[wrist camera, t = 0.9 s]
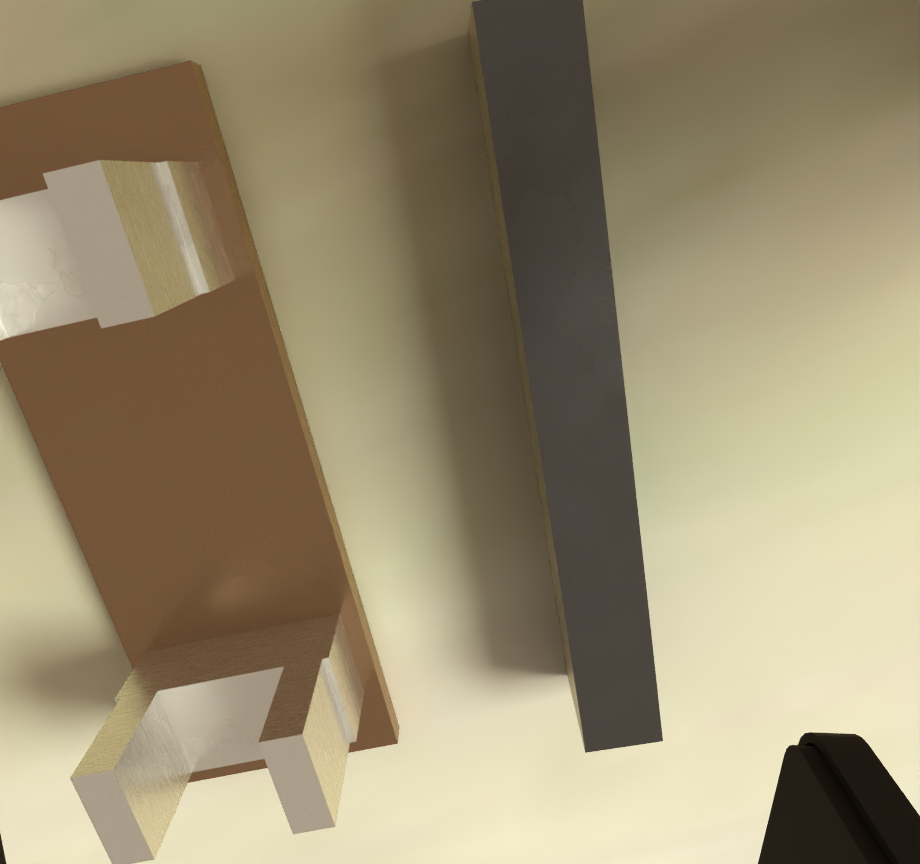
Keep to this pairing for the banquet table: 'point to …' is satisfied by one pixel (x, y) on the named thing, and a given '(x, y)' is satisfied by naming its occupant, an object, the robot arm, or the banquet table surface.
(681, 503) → the banquet table surface
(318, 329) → the banquet table surface
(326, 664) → the bracket
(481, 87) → the dark grey bar
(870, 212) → the banquet table surface
